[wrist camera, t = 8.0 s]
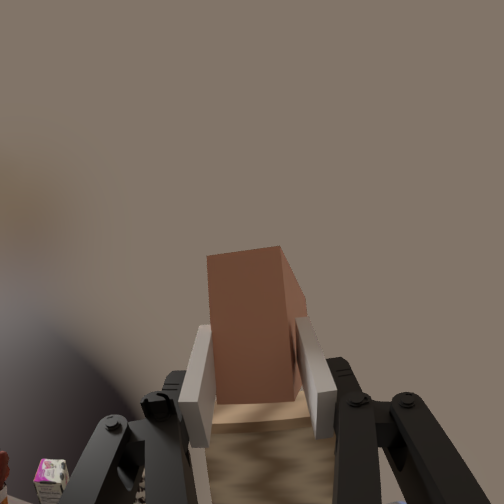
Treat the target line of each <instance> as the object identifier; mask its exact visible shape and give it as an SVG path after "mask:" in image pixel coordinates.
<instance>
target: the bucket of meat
mask: <svg viewBox="0 0 504 504" xmlns="http://www.w3.org/2000/svg"><path fill="white" fill-rule="evenodd" d="M8 460H9V457H8V454H7V452H4V451H1V452H0V504H8V500H7V486H6V484H5V482H4V481H5V480H6V479H7V477H8V475H9V470H10V469H9V467H8Z"/></svg>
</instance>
